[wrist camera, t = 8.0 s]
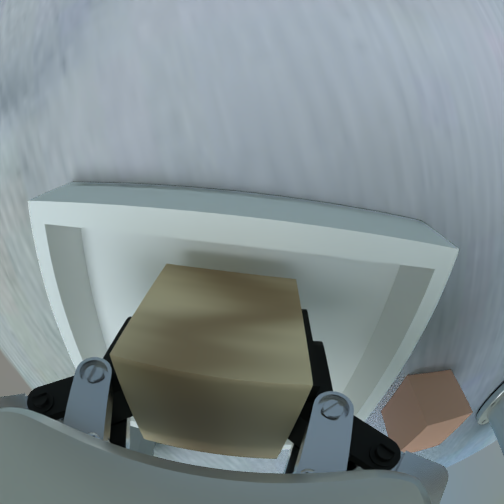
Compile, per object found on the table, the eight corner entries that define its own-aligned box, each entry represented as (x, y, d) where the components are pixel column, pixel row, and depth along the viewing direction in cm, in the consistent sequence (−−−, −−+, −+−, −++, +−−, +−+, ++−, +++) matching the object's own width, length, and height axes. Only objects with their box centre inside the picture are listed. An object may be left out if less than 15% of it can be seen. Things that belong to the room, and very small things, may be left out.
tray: (421, 220, 12) (459, 249, 9) (336, 412, 19) (342, 447, 15) (71, 182, 12) (27, 200, 9) (115, 383, 18) (100, 415, 15)
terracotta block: (450, 369, 17) (472, 412, 12) (423, 404, 19) (439, 444, 14) (406, 374, 17) (427, 425, 12) (380, 410, 19) (393, 456, 14)
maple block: (296, 279, 10) (312, 384, 6) (275, 366, 12) (276, 458, 8) (166, 263, 10) (109, 354, 6) (173, 353, 12) (144, 438, 8)
